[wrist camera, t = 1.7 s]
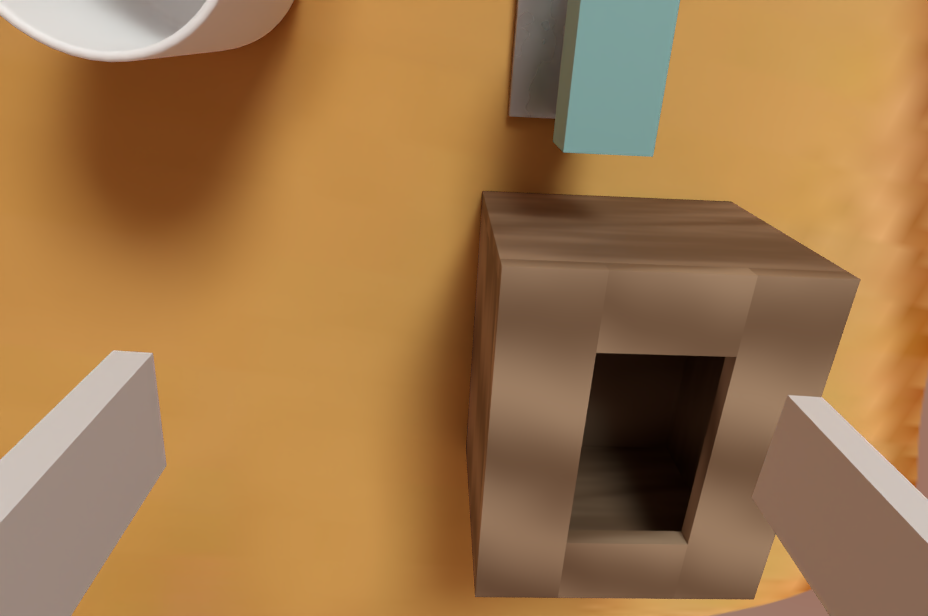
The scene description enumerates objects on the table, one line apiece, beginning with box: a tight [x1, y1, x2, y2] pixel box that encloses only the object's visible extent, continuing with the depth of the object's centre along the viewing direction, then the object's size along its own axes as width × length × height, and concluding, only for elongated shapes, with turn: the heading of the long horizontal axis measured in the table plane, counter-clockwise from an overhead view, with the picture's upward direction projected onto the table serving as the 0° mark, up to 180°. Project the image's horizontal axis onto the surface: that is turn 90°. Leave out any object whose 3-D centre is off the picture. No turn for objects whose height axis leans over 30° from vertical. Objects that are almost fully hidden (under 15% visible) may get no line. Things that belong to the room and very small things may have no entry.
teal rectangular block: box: [553, 0, 680, 157], centre depth 23 cm, size 7×3×2 cm, turn 177°
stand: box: [508, 0, 568, 119], centre depth 27 cm, size 6×6×6 cm
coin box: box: [466, 191, 860, 599], centre depth 31 cm, size 16×13×11 cm
